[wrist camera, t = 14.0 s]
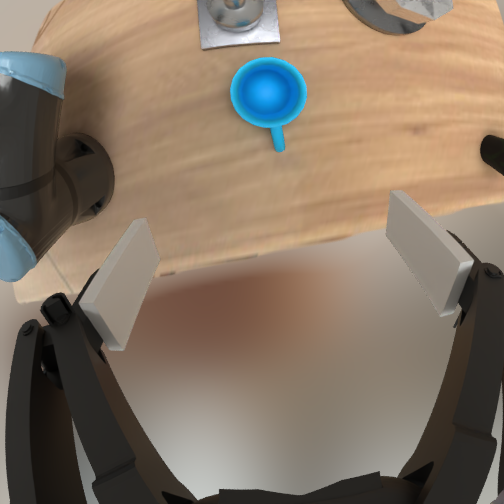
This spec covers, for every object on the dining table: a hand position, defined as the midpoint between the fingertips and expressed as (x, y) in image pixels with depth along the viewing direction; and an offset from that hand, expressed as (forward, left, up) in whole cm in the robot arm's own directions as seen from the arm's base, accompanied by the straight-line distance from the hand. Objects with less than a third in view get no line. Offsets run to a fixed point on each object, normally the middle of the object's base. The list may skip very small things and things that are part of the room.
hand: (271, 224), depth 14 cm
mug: (+1, +5, -27) cm, 27 cm away
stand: (-2, +19, -26) cm, 32 cm away
